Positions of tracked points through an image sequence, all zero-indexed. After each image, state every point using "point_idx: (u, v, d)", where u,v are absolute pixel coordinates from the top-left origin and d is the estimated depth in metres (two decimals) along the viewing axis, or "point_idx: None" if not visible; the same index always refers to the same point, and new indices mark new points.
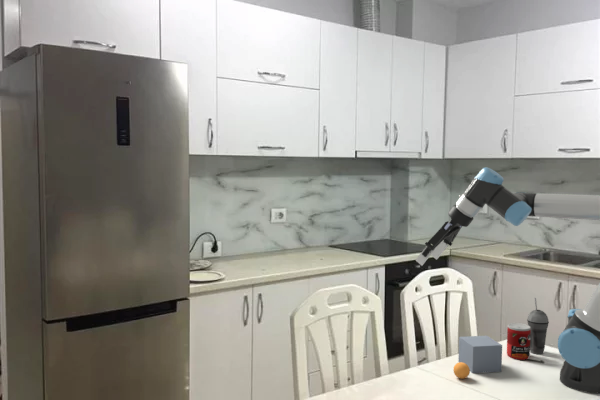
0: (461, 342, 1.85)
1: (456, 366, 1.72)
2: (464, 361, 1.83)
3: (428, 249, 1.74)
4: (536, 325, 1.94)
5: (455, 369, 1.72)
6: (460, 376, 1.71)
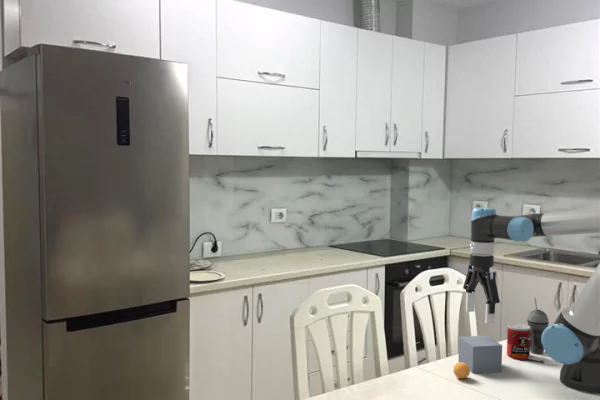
0: (461, 342, 1.85)
1: (456, 366, 1.72)
2: (464, 361, 1.83)
3: (493, 305, 1.73)
4: (536, 325, 1.94)
5: (455, 369, 1.72)
6: (460, 376, 1.71)
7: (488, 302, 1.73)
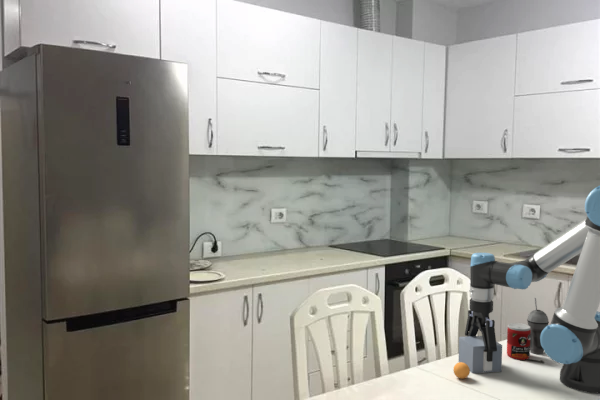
0: (461, 342, 1.85)
1: (456, 366, 1.72)
2: (464, 361, 1.83)
3: (490, 353, 1.76)
4: (536, 325, 1.94)
5: (455, 369, 1.72)
6: (460, 376, 1.71)
7: (486, 350, 1.76)
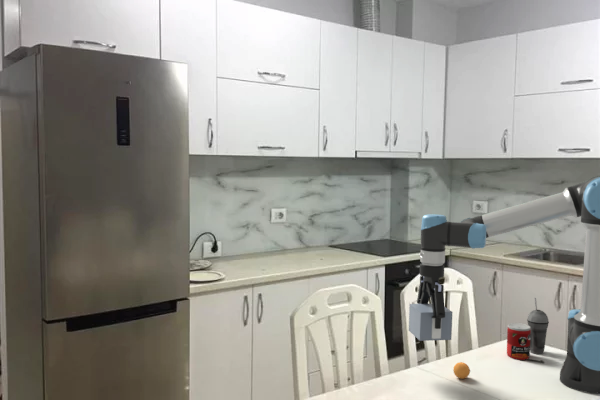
0: (411, 309, 1.74)
1: (456, 366, 1.72)
2: (413, 329, 1.72)
3: (439, 319, 1.65)
4: (536, 325, 1.94)
5: (455, 369, 1.72)
6: (460, 376, 1.71)
7: (433, 317, 1.65)
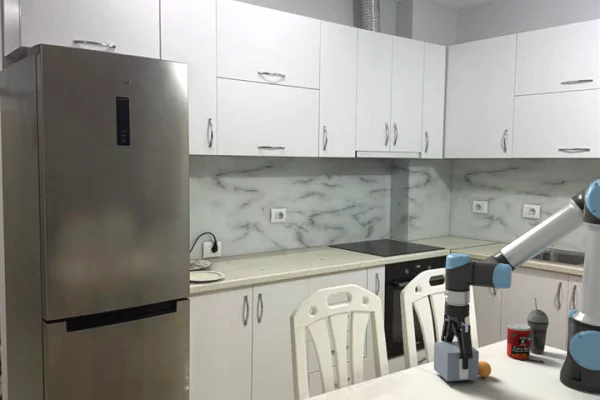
0: (436, 348, 1.74)
1: None
2: (439, 368, 1.72)
3: (466, 360, 1.65)
4: (536, 325, 1.94)
5: None
6: (488, 366, 1.72)
7: (461, 357, 1.65)
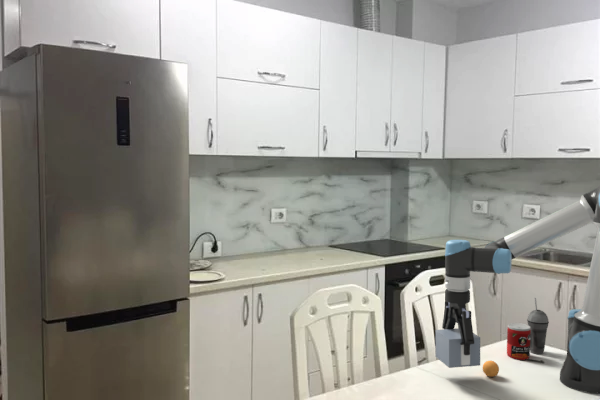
0: (438, 335, 1.74)
1: None
2: (441, 355, 1.72)
3: (468, 346, 1.65)
4: (536, 325, 1.94)
5: None
6: (498, 370, 1.73)
7: (462, 343, 1.65)
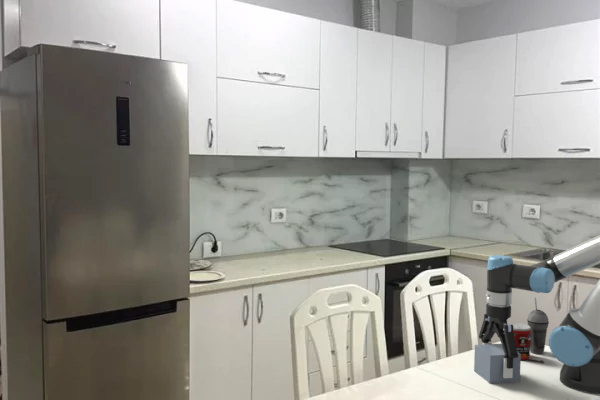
0: (477, 350, 1.76)
1: None
2: (480, 370, 1.75)
3: (511, 359, 1.66)
4: (536, 325, 1.94)
5: None
6: None
7: (506, 356, 1.66)
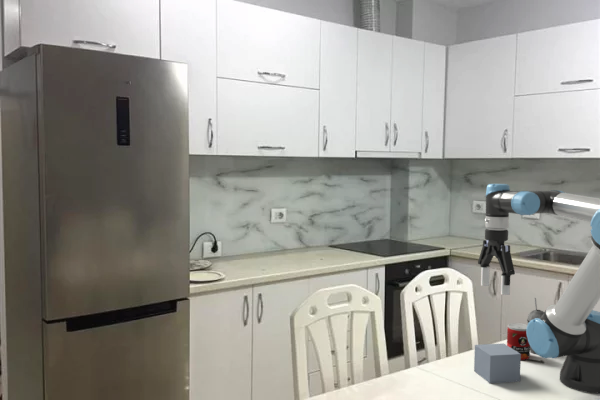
0: (477, 350, 1.76)
1: None
2: (480, 370, 1.75)
3: (508, 277, 1.79)
4: None
5: None
6: None
7: (503, 274, 1.79)
